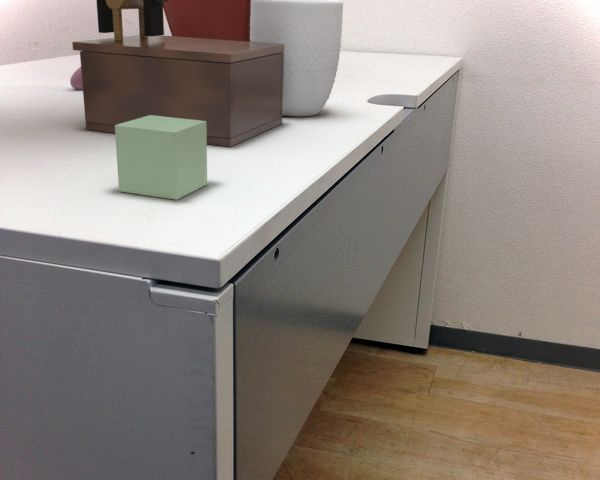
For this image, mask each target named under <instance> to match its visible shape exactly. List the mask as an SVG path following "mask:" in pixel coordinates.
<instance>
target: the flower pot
mask: <svg viewBox="0 0 600 480" xmlns="http://www.w3.org/2000/svg"><path fill="white" fill-rule="evenodd" d="M163 13H164V15H165V19H166V22H167V25H168V28H169V32H170V35H171V36H175V37H189V38H203V39H217V40H231V41H245V42H250V16H251V0H168V2H163Z"/></svg>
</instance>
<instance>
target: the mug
mask: <svg viewBox="0 0 600 480" xmlns="http://www.w3.org/2000/svg"><path fill="white" fill-rule="evenodd" d="M343 13H344V1H342V0H251V16H250V42H259V43H273V44H284V74H283V110H282V117H283V116H284V117H311V116H316V115H318V114H319V113H320V112H321V111H322V110H323V109H324V107H325V106H326V104H327V101H328V100H329V99H330V95H331V94H332V90H333V88H334V84H335V82H336V77H337V72H338V68H339V67H338V66H339V62H340V54H341V47H342V44H341V43H342V35H343V33H342V31H343Z"/></svg>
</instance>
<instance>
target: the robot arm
mask: <svg viewBox="0 0 600 480" xmlns="http://www.w3.org/2000/svg"><path fill="white" fill-rule="evenodd" d="M163 2H168V0H143V9H144V30H145V36H160V35H161V36H165V26H164V24H165V23H164V22H165V21H164V9H163ZM96 13H97V28H98V33H99V34H108V33H109V34H110V33H114V26H113V10H112V9H111V8H109V6H108V5H107V3H106V0H96Z"/></svg>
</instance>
